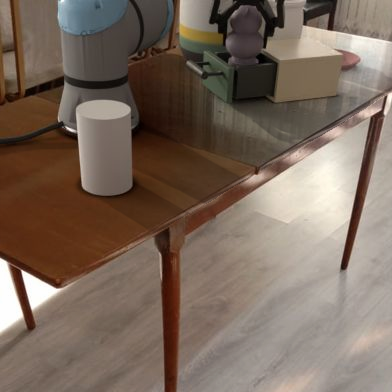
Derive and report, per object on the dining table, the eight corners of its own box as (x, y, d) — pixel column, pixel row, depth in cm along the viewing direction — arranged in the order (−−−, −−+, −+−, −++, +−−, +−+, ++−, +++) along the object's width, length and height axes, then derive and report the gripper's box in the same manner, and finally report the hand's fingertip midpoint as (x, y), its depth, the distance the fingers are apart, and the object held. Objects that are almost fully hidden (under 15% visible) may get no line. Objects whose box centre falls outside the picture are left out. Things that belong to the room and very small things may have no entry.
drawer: (204, 105, 128) (206, 70, 124) (181, 85, 137) (182, 52, 132) (287, 96, 135) (291, 62, 130) (260, 77, 143) (263, 46, 139)
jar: (296, 61, 157) (305, -7, 147) (297, 74, 149) (307, 3, 140) (254, 57, 158) (260, -10, 148) (253, 70, 150) (259, 0, 140)
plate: (290, 63, 155) (291, 54, 154) (321, 52, 164) (323, 44, 162) (339, 77, 148) (340, 69, 147) (369, 66, 157) (371, 57, 155)
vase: (259, 71, 150) (271, -47, 134) (193, 76, 144) (198, -45, 129) (230, 50, 161) (238, -60, 146) (168, 55, 156) (170, -59, 141)
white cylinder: (133, 173, 105) (131, 100, 97) (131, 196, 99) (129, 120, 91) (84, 172, 104) (78, 99, 96) (79, 194, 98) (72, 118, 90)
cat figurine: (228, 59, 137) (233, -3, 129) (264, 63, 135) (270, 1, 128) (220, 70, 130) (224, 6, 123) (257, 74, 129) (263, 10, 121)
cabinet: (274, 102, 134) (280, 60, 128) (245, 82, 143) (249, 41, 137) (336, 95, 139) (343, 54, 133) (304, 76, 148) (310, 37, 142)
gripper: (191, -16, 110) (195, 55, 133) (308, -9, 109) (292, 61, 132) (195, -57, 111) (197, 21, 133) (311, -50, 110) (294, 27, 133)
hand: (244, 41), depth 133 cm, fingers closed on cat figurine, 8 cm apart
